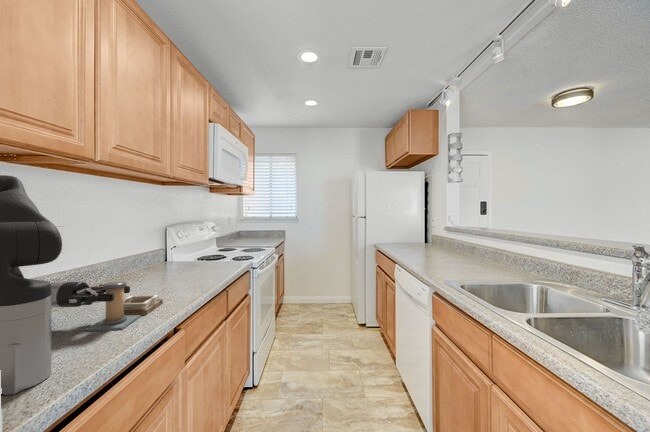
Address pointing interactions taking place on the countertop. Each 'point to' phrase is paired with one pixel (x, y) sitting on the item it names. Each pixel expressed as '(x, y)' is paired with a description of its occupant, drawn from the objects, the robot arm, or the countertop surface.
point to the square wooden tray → (141, 304)
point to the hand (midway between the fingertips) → (121, 293)
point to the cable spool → (115, 303)
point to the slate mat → (120, 326)
